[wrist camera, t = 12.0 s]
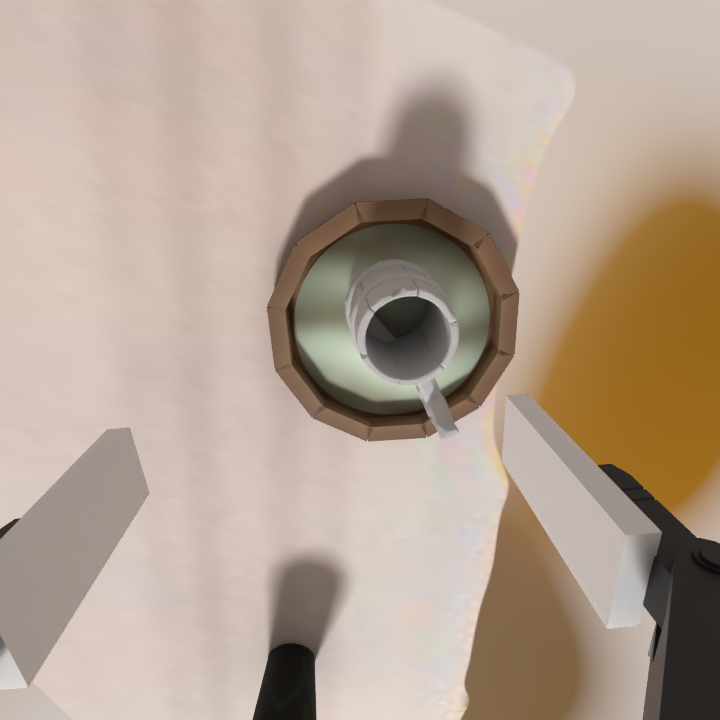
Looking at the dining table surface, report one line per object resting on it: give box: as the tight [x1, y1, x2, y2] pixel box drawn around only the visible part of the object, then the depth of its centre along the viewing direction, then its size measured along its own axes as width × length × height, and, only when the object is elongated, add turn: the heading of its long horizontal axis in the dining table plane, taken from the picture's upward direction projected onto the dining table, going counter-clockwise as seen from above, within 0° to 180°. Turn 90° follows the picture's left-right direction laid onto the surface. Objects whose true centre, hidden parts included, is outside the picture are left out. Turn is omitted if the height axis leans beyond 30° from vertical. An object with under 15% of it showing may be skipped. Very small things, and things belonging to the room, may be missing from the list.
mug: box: [345, 259, 459, 440], centre depth 30 cm, size 8×12×12 cm, turn 24°
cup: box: [253, 644, 316, 720], centre depth 45 cm, size 8×8×12 cm
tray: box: [267, 199, 519, 441], centre depth 36 cm, size 20×20×3 cm
